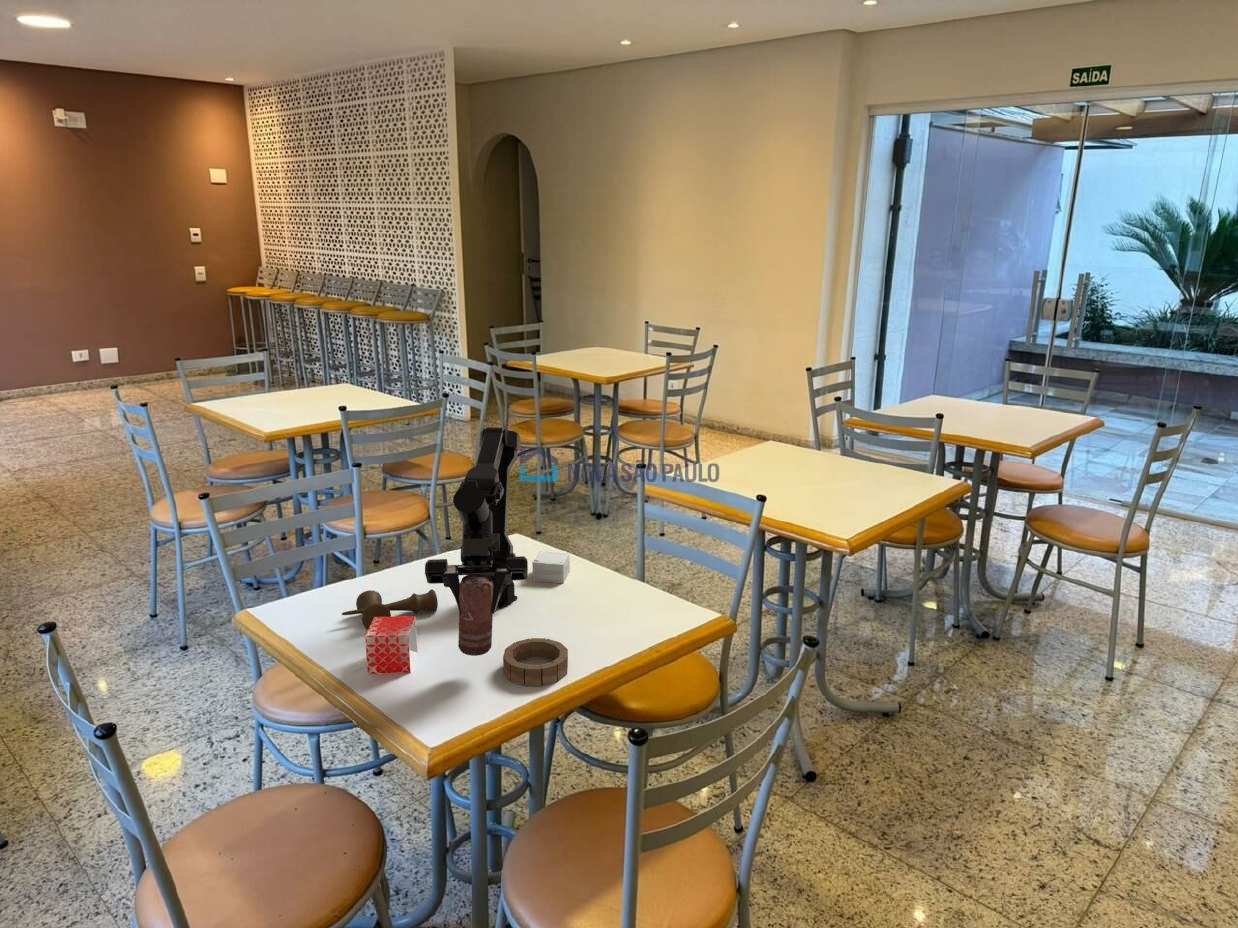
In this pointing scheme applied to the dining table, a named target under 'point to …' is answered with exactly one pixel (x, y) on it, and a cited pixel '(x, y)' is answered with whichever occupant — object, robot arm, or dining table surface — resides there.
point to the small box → (551, 567)
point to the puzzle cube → (391, 645)
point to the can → (475, 614)
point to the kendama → (391, 605)
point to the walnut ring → (535, 673)
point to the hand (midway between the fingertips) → (477, 613)
